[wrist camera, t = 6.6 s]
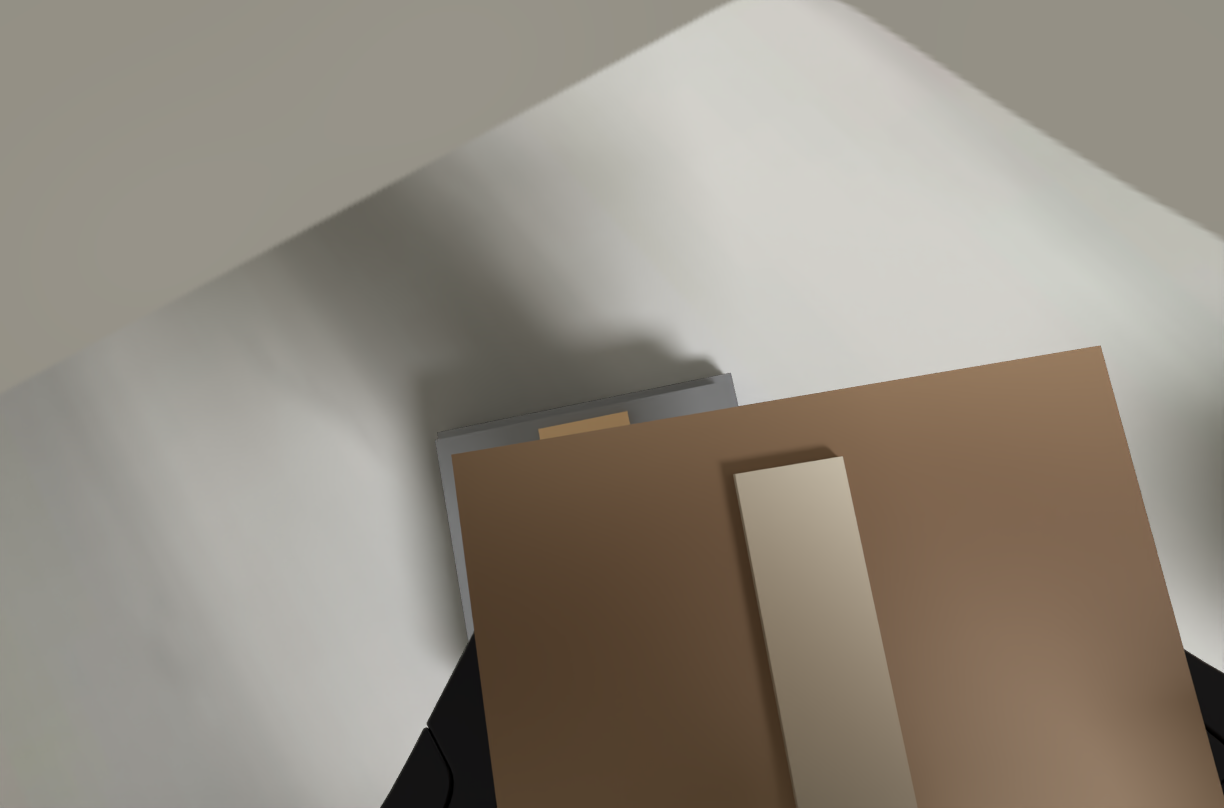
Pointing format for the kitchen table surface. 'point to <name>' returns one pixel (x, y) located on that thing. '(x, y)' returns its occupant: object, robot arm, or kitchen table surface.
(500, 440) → the square gray tray
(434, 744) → the robot arm
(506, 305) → the kitchen table surface
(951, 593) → the tall cardboard box
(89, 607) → the kitchen table surface
